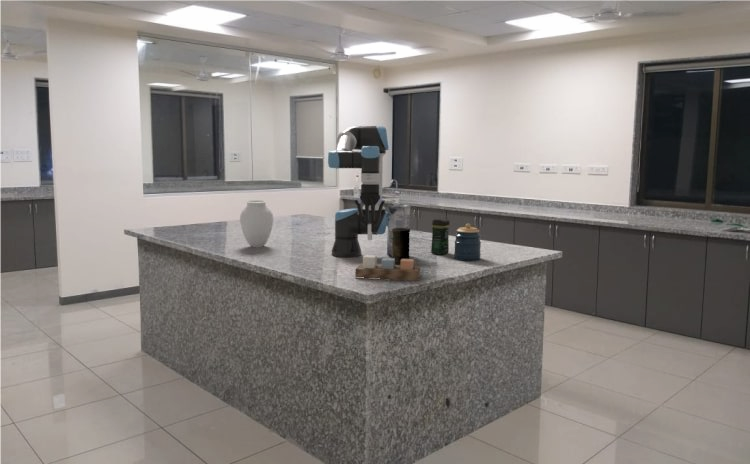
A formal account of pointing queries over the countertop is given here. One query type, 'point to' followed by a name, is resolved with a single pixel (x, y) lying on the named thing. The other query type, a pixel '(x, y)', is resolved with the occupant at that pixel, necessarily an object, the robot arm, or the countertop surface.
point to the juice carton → (397, 221)
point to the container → (400, 244)
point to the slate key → (388, 263)
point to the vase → (256, 223)
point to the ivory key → (369, 261)
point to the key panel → (388, 273)
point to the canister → (467, 244)
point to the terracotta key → (407, 264)
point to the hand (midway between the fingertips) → (369, 239)
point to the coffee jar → (440, 236)
